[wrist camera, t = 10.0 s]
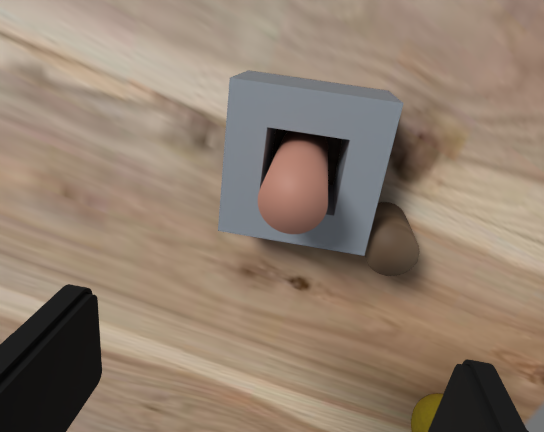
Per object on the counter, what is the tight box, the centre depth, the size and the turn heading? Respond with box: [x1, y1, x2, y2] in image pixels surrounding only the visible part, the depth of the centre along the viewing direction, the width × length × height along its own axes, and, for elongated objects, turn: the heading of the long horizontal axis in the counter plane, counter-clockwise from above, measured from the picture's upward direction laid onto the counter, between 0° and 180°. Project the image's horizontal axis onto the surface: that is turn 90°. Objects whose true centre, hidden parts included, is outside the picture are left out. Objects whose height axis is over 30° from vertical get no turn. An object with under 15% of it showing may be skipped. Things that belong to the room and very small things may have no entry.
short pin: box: [365, 202, 419, 276], centre depth 30 cm, size 4×4×5 cm
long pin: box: [258, 131, 328, 234], centre depth 25 cm, size 4×4×11 cm
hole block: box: [218, 70, 403, 256], centre depth 28 cm, size 10×10×6 cm
